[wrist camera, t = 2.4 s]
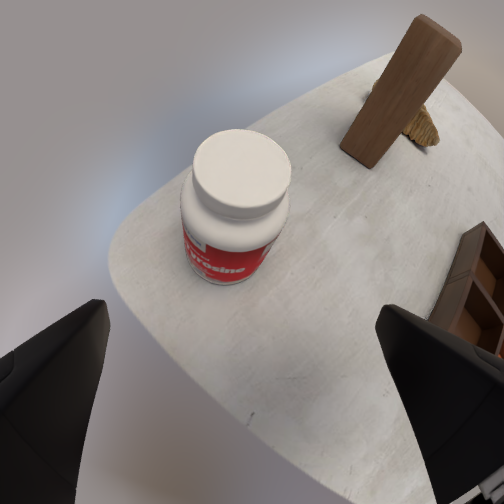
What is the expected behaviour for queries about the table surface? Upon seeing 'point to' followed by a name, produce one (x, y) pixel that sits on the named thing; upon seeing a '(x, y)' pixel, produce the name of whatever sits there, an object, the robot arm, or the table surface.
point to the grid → (475, 292)
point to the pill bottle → (234, 204)
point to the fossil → (421, 128)
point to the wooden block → (401, 89)
